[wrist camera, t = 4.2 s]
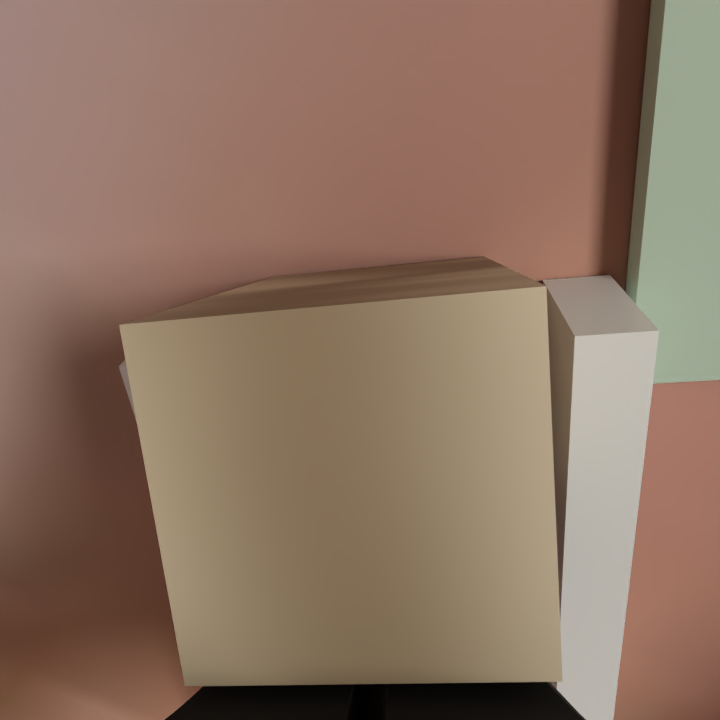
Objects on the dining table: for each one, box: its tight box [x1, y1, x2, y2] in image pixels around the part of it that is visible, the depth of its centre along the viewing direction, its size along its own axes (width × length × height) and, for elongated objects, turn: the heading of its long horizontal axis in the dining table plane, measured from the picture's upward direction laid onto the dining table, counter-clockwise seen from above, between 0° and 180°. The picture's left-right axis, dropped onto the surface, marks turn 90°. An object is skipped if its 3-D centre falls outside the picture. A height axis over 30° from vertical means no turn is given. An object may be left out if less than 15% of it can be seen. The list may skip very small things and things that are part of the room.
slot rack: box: [119, 275, 659, 720], centre depth 15 cm, size 8×22×2 cm, turn 6°
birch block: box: [119, 256, 563, 686], centre depth 9 cm, size 4×4×6 cm
